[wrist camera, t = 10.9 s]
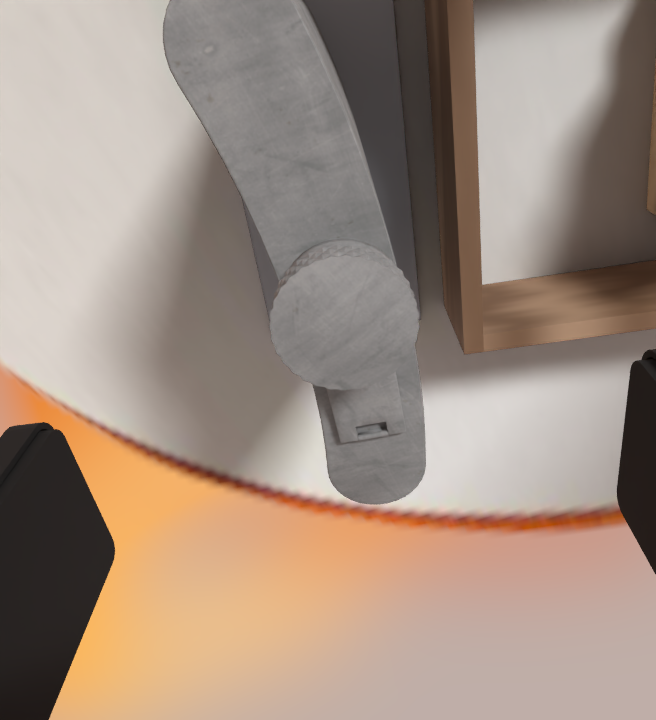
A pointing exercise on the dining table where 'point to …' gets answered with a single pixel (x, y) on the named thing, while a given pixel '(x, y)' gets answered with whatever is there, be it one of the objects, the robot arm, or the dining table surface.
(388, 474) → the hip flask
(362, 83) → the felt pad
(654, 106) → the offcut base
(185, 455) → the dining table surface
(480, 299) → the wooden tray
